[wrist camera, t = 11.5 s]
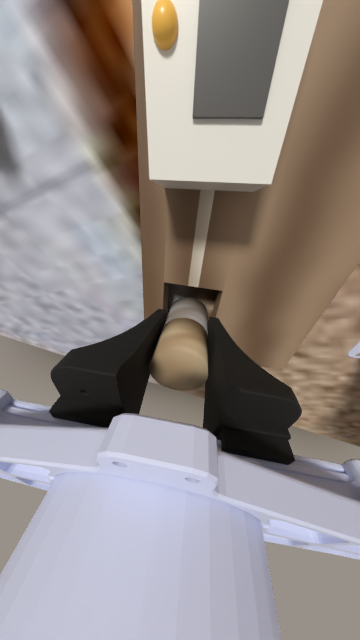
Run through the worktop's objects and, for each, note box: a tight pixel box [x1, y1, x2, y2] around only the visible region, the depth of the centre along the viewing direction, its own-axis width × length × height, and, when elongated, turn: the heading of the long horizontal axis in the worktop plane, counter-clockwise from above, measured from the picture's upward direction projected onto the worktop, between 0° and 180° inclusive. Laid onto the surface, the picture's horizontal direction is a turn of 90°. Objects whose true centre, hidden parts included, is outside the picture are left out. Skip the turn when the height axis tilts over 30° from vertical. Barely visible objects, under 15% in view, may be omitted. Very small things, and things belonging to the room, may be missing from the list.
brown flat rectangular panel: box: [133, 0, 360, 370], centre depth 11 cm, size 14×24×2 cm, turn 174°
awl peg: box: [149, 297, 208, 390], centre depth 11 cm, size 3×3×6 cm
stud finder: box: [141, 0, 323, 192], centre depth 6 cm, size 5×7×3 cm
